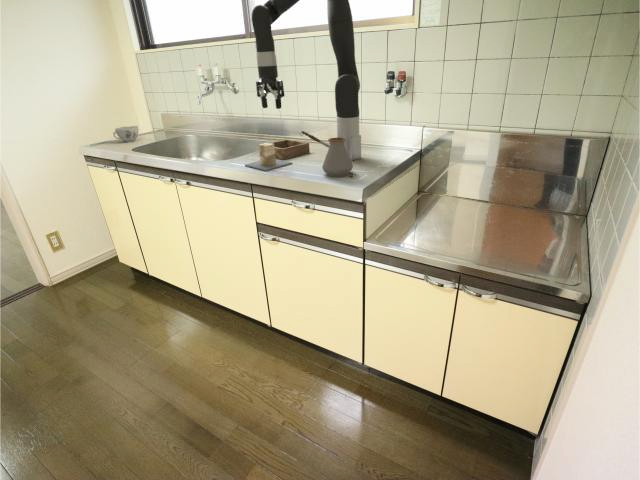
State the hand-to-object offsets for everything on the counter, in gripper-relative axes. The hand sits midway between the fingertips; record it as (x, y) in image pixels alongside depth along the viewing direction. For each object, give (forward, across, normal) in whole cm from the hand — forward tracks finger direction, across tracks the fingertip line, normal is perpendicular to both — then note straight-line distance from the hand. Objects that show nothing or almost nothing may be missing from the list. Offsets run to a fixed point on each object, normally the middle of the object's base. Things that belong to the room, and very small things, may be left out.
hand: (271, 108), depth 156 cm
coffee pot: (+22, -31, +2) cm, 38 cm away
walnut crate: (+22, +7, -11) cm, 25 cm away
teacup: (+20, +112, +18) cm, 116 cm away
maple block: (+21, -3, +8) cm, 22 cm away
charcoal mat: (+22, -3, +8) cm, 23 cm away
